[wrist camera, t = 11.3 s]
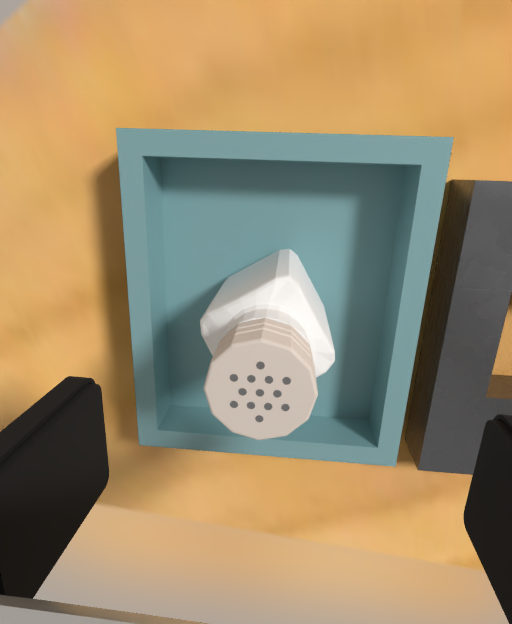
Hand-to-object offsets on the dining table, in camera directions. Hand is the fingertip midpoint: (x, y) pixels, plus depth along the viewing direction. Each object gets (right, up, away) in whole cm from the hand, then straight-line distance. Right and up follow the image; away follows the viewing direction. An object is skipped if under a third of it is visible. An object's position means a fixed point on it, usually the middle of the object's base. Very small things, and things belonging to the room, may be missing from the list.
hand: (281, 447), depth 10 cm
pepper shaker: (0, +4, +10) cm, 11 cm away
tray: (0, +4, +11) cm, 12 cm away
